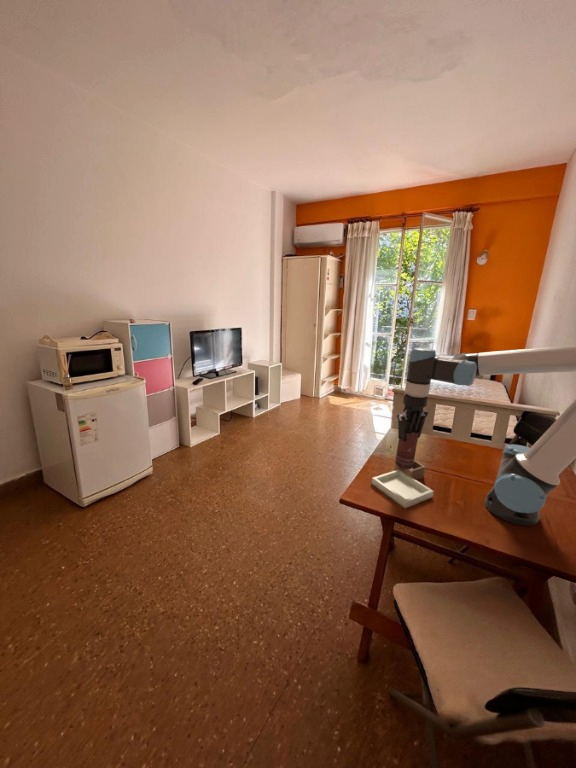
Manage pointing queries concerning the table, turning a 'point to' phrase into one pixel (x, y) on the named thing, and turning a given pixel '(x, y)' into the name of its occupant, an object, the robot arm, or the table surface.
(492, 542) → the table surface
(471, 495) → the table surface
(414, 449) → the can
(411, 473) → the square wooden box
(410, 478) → the tray
